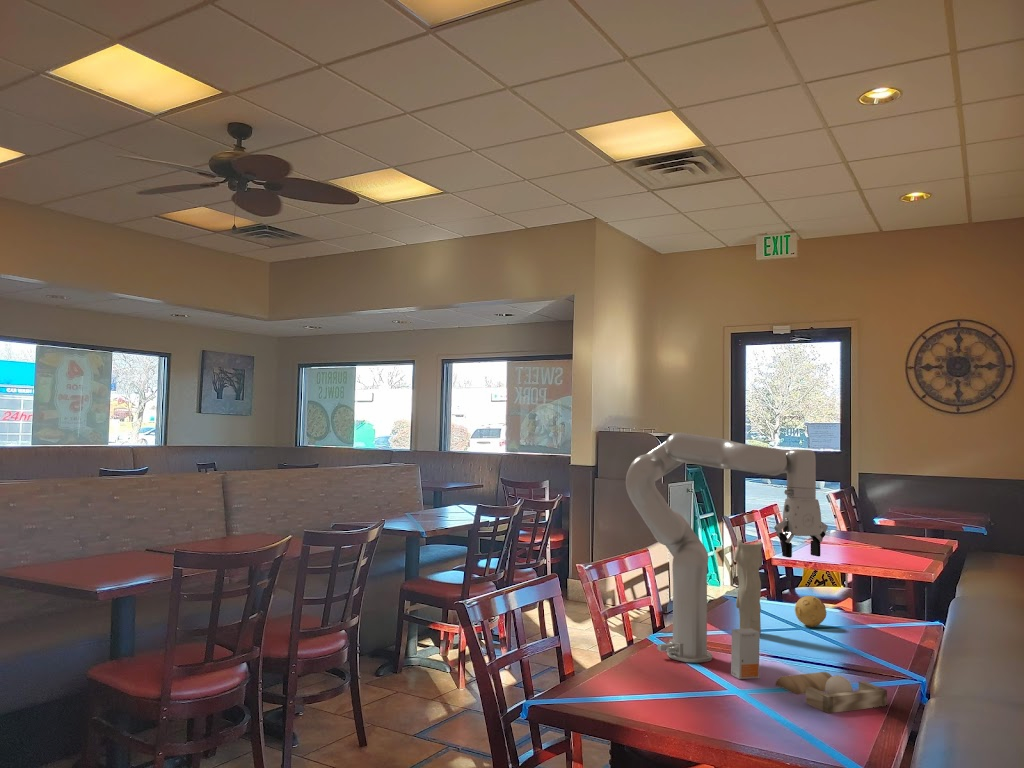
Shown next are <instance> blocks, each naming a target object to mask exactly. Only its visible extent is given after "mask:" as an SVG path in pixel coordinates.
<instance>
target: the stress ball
mask: <svg viewBox="0 0 1024 768" xmlns="http://www.w3.org/2000/svg"><path fill="white" fill-rule="evenodd" d="M826 609H827V607H826V605H825V603H824V602H823V601H822V600H821V599H820V598H818V597H816V596H813V595H805V596H802V597H800V598H799V599H798V600H797V602H796V603H795V606H794V613H795V616H796V618H797V620H798V621H800V623H802V624H803V625H805V626H806V627H809V628H815V626H818V625H821V624H822V623H823V622H824V620H825V619H826V618H827V610H826Z"/></svg>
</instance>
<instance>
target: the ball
mask: <svg viewBox="0 0 1024 768" xmlns="http://www.w3.org/2000/svg"><path fill="white" fill-rule="evenodd" d="M831 676H832V677H830V678H829V679H828V680H827V682H826V691H825V693H826V694H836V693H844V692H853V691H854V690H853V686H852V684H851V683H852V682H850V680H848V679H847V678H846V677H844V676H842V675H839V674H838V675H831Z"/></svg>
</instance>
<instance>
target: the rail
mask: <svg viewBox="0 0 1024 768" xmlns="http://www.w3.org/2000/svg"><path fill="white" fill-rule="evenodd" d="M805 704H807V705H810V706H811V707H814V708H816V709H817V710H820V711H822V712H824V713H826V714H834V713H840V712H848V711H857V710H864V709H874V708H880V707H879V706H882V707H887V706H888V690H887V689H884V688H883V687H880V686H877V685H875V684H872V683H870V682H868V681H865V680H862V681H861V680H860V681H858V690H856V691H854V690H853V692H844V693H836V694H827V692H825V691H819V690H817V689H815V688H813V687H806V693H805ZM886 705H887V706H886ZM873 707H874V708H873Z"/></svg>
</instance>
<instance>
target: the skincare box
mask: <svg viewBox="0 0 1024 768" xmlns="http://www.w3.org/2000/svg"><path fill="white" fill-rule="evenodd" d="M760 636H761V633H760V632H758V631H756V630H753V629H751V628H750V629H739V628H735V629H734V628H732V629H731V650H730V651H731V653H730V655H731V657H730V659H731V661H730V665H731V666H730V668H731V669H730V674H731V676H733V677H735V678H736V679H738V680H749V679H760V641H761V640H760Z"/></svg>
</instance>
